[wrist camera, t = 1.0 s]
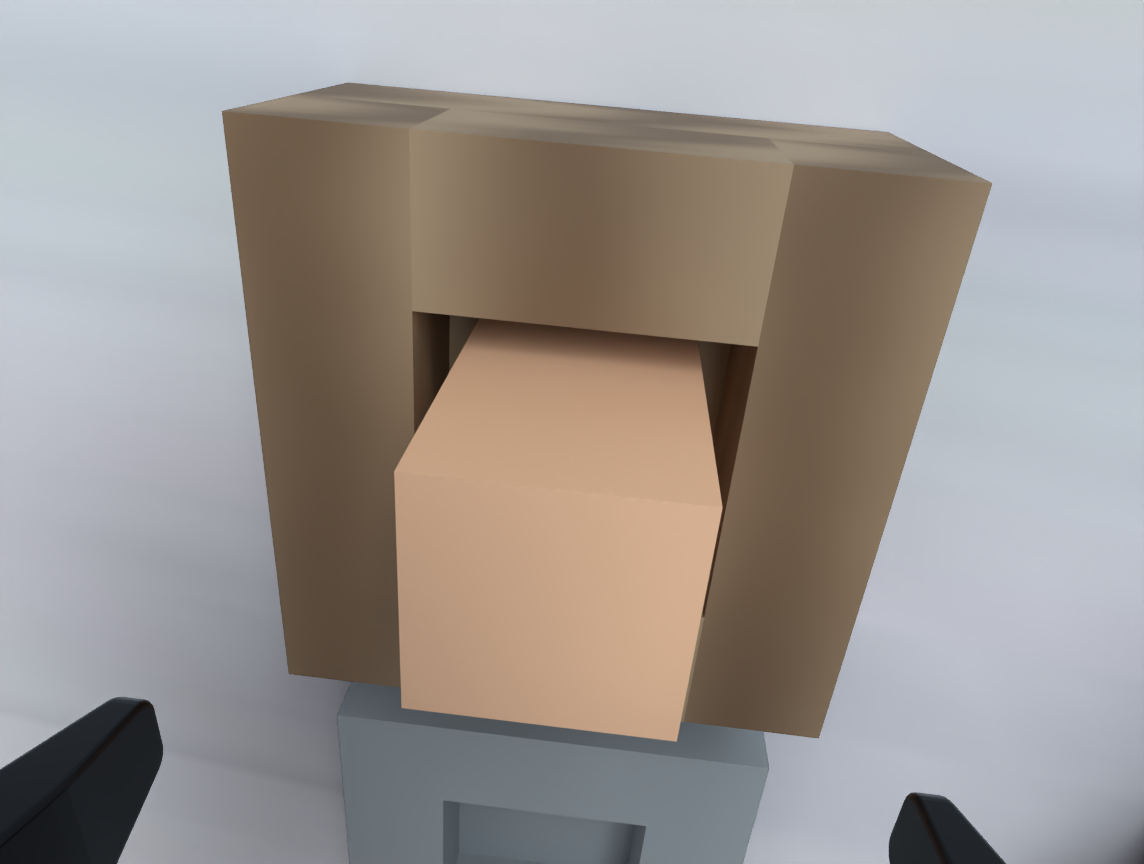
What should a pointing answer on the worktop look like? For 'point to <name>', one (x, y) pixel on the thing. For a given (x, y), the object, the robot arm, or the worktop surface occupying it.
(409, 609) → the plug
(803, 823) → the worktop surface
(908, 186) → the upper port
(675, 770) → the frame
